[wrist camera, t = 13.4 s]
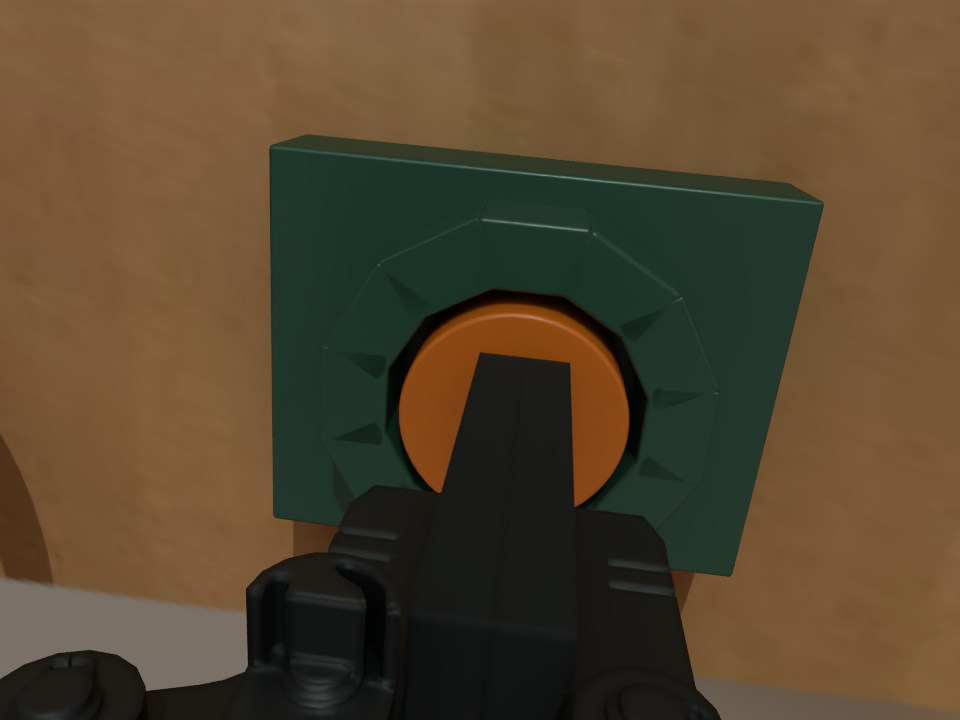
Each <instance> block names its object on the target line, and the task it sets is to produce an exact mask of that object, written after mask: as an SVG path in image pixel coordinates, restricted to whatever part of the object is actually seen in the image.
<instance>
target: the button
mask: <svg viewBox="0 0 960 720" xmlns="http://www.w3.org/2000/svg"><path fill="white" fill-rule="evenodd" d="M480 352H483V353H491V354H500V355H508V356H517V357H525V358H534V359H543V360H551V361H560V362H568V363H570V369H571V403H572V436H573V469H574V502H575V507H576V506H578V505H580V504H582V503H583V502H584V501H586V500H587V499H588V498H590V497H591V496H592V495H594V494H595V493H596V492H597V491H598V490H599V489H600V488H601V487H602V486H603V485H604V484H605V483H606V481H607V480H608V479H609V478H610V476H611V475H612V474H613V472H614V470H615V469H616V467H617V465H618V464H619V462H620V460H621V457H622V455H623V452H624V450H625V446H626V442H627V438H628V432H629V406H628V401H627V396H626V391H625V386H624V381H623V376H622V371H621V366H620V361H619V358H618V355H617V352H616V350H615V347H614V345H613V343H612V341H611V340H610V338H609V336H608V335H607V333H606V332H605V330H604V329H603V327H602V326H601V325H600V324H599V323H598V322H597V321H596V320H595V319H593V318H592V317H591V316H589V315H588V314H586V313H585V312H584V311H582V310H581V309H579V308H578V307H577V306H575V305H574V304H573V303H571V302H570V301H568V300H567V299H566V298H564V297H558V296H549V295H540V294H531V293H522V292H513V291H504V290H495V289H492V290H489V291H487V292H485V293H482V294H480V295H478V296H475V297H473V298H471V299H468V300H466V301H464V302H461V303H459V304H456V305H454V306H452V307H451V308H449V309H448V310H447V311H446V312H445V313H444V314H443V315H442V316H441V317H439V319H438V320H437V321H436V322H435V323H434V325H433V326H432V327H431V328H430V330H429V332H428V333H427V335H426V337H425V338H424V340H423V342H422V344H421V346H420V348H419V351H418V353H417V355H416V357H415V359H414V361H413V363H412V365H411V367H410V369H409V372H408V374H407V376H406V378H405V381H404V384H403V387H402V391H401V394H400V402H399V425H400V432H401V437H402V440H403V443H404V446H405V449H406V451H407V453H408V456H409V458H410V460H411V462H412V463H413V465H414V467H415V468H416V470H417V471H418V473H419V474H420V475H421V477H422V478H423V479H424V480H425V482H426V483H427V484H428V485H429V486H430V487H431V488H432V489H433V490H434V491H435V492H437V493H441V490H442V487H443V483H444V479H445V476H446V472H447V469H448V465H449V461H450V458H451V454H452V451H453V447H454V443H455V440H456V436H457V433H458V429H459V425H460V422H461V418H462V415H463V411H464V407H465V404H466V400H467V397H468V393H469V389H470V386H471V382H472V379H473V375H474V371H475V368H476V364H477V361H478V357H479V353H480Z"/></svg>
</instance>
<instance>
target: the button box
mask: <svg viewBox="0 0 960 720" xmlns="http://www.w3.org/2000/svg"><path fill="white" fill-rule="evenodd" d="M269 159H270V252H271V344H272V437H273V515H274V517H275V518H279V519H287V520H295V521H302V522H310V523H318V524H326V525H333V526H339V525H340V523H341V521H342V519H343V517H344V515H345V513H346V510H347V508H348V506H349V504H350V503H351V502H352V501H354V500H355V499H356V498H358V497H359V496H360V495H362V494H363V493H364V492H366V491H367V490H369V489H370V488H371V487H373V486H374V485H383V486H390V487H398V488H406V489H414V490H422V491H429V492H435V491H434V490H433V489H432V488H431V487H430V486H429V485H428V484H427V483H426V482H425V480H424V479H423V478H422V477H421V475H420V474H419V473H418V471H417V470H416V468H415V467H414V465H413V463H412V462H411V460H410V458H409V456H408V453H407V451H406V449H405V446H404V443H403V440H402V437H401V432H400V425H399V402H400V394H401V391H402V387H403V384H404V381H405V378H406V376H407V374H408V372H409V369H410V367H411V365H412V363H413V361H414V359H415V357H416V355H417V353H418V351H419V348H420V346H421V344H422V342H423V340H424V338H425V337H426V335H427V333H428V332H429V330H430V328H431V327H432V326H433V325H434V323H435V322H436V321H437V320H438V319H439V317H441V316H442V315H443V314H444V313H445V312H446V311H447V310H448V309H449V308H451V307H452V306H454V305H456V304H459V303H461V302H464V301H466V300H468V299H471V298H473V297H475V296H478V295H480V294H482V293H485V292H487V291H489V290H492V289H495V290H504V291H513V292H522V293H531V294H540V295H549V296H558V297H564V298H566V299H567V300H568V301H570V302H571V303H573V304H574V305H575V306H577V307H578V308H579V309H581V310H582V311H584V312H585V313H586V314H588V315H589V316H591V317H592V318H593V319H595V320H596V321H597V322H598V323H599V324H600V325H601V326H602V327H603V329H604V330H605V332H606V333H607V335H608V336H609V338H610V340H611V341H612V343H613V345H614V347H615V350H616V352H617V355H618V358H619V361H620V366H621V371H622V376H623V381H624V386H625V391H626V396H627V401H628V406H629V432H628V438H627V442H626V446H625V450H624V452H623V455H622V457H621V460H620V462H619V464H618V465H617V467H616V469H615V470H614V472H613V474H612V475H611V476H610V478H609V479H608V480H607V481H606V483H605V484H604V485H603V486H602V487H601V488H600V489H599V490H598V491H597V492H596V493H595V494H594V495H592V496H591V497H590V498H588V499H587V500H586V501H584V502H583V503H582V504H580V505H578V506H576V508H584V509H592V510H600V511H608V512H616V513H623V514H631V515H639V516H644V517H645V519H646V520H647V521H648V522H649V523H650V525H651V526H652V527H653V528H654V529H655V531H656V532H657V533H658V534H659V535H660V537H661V538H662V539H663V540H664V542H665V547H666V551H667V556H668V561H669V565H670V569H673V570H681V571H689V572H696V573H704V574H712V575H720V576H727V577H729V576H731V575H732V573H733V569H734V565H735V561H736V557H737V553H738V549H739V545H740V541H741V537H742V533H743V529H744V525H745V521H746V517H747V513H748V509H749V505H750V501H751V497H752V493H753V489H754V485H755V481H756V477H757V473H758V468H759V464H760V460H761V456H762V452H763V448H764V444H765V440H766V436H767V432H768V428H769V424H770V420H771V416H772V412H773V408H774V404H775V400H776V396H777V392H778V388H779V384H780V380H781V376H782V372H783V368H784V364H785V360H786V356H787V352H788V348H789V344H790V340H791V336H792V332H793V328H794V324H795V320H796V316H797V312H798V308H799V303H800V299H801V295H802V291H803V287H804V283H805V279H806V275H807V271H808V267H809V263H810V259H811V255H812V251H813V247H814V243H815V239H816V235H817V231H818V227H819V223H820V219H821V215H822V211H823V207H824V204H823V202H822V201H820V200H818V199H817V198H815V197H813V196H811V195H809V194H807V193H806V192H804V191H802V190H800V189H798V188H796V187H795V186H793V185H791V184H789V183H781V182H772V181H762V180H752V179H742V178H732V177H722V176H712V175H703V174H693V173H683V172H673V171H663V170H653V169H643V168H634V167H624V166H614V165H604V164H594V163H584V162H574V161H565V160H555V159H545V158H535V157H525V156H515V155H506V154H496V153H486V152H476V151H466V150H456V149H446V148H437V147H427V146H417V145H407V144H397V143H387V142H377V141H368V140H358V139H348V138H338V137H328V136H318V135H308V134H307V135H303V136H300V137H297V138H293V139H290V140H287V141H283V142H280V143H277V144H274V145H271V146H270V149H269Z"/></svg>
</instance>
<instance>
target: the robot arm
mask: <svg viewBox="0 0 960 720" xmlns="http://www.w3.org/2000/svg"><path fill="white" fill-rule="evenodd" d="M246 608H247V642H248V643H247V646H248V667H247V669H246V671H245V672H243V673H241V674H238V675H235V676H233V677H230V678H227V679H225V680H221V681H216V682H211V683H207V684H201V685H194V686H185V687H177V688H168V689H160V690H151V691H146V687H145V684H144V682H143V680H142V678H141V676H140V673H139V672H138V669H137V667H135V666H134V665H132V664H131V663H129V662H128V661H126V660H124V659H123V658H121V657H120V656H118V655H115V654H110V653H104V652H98V651H92V650H85V651H76V652H65V653H57V654H54V655H52V656H48V657H45V658H42V659H39V660H36V661H33V662H31V663H28V664H25V665H23V666H21V667H20V668H18V669H16V670H14V671H13V672H11V673H9V674H8V675H6V676H5V677H3V678H1V679H0V720H721V718H720V716H719V714H718V712H717V710H716V708H714V706H713V705H712V704H711V703H710V702H709V701H708V700H707V699H705V698H704V696H702V694H701V693H700V692H699V691H698V690H697V689H696V687H695V682H694V677H693V673H692V668H691V663H690V659H689V654H688V649H687V645H686V640H685V635H684V631H683V626H682V621H681V617H680V612H679V607H678V603H677V598H676V597H675V589H674V584H673V579H672V575H671V574H670V565H669V561H668V556H667V551H666V547H665V542H664V540H663V539H662V538H661V537H660V535H659V534H658V533H657V532H656V531H655V529H654V528H653V527H652V526H651V525H650V523H649V522H648V521H647V520H646V519H645V517H644V516H639V515H631V514H623V513H616V512H608V511H600V510H592V509H584V508H576V507H575V502H574V469H573V436H572V403H571V369H570V363H568V362H560V361H551V360H543V359H534V358H525V357H517V356H508V355H500V354H491V353H483V352H480V353H479V357H478V361H477V364H476V368H475V371H474V375H473V379H472V382H471V386H470V389H469V393H468V397H467V400H466V404H465V407H464V411H463V415H462V418H461V422H460V425H459V429H458V433H457V436H456V440H455V443H454V447H453V451H452V454H451V458H450V461H449V465H448V469H447V472H446V476H445V479H444V483H443V487H442V490H441V493H437V492H429V491H422V490H414V489H406V488H398V487H390V486H383V485H374V486H373V487H371V488H370V489H369V490H367V491H366V492H364V493H363V494H362V495H360V496H359V497H358V498H356V499H355V500H354V501H352V502H351V503H350V504H349V506H348V508H347V510H346V513H345V515H344V517H343V519H342V521H341V523H340V525H339V527H338V533H336V534H335V536H334V538H333V540H332V542H331V544H330V546H329V549H328V553H310V554H306V555H301V556H297V557H292V558H288V559H285V560H283V561H281V562H279V563H277V564H275V565H274V566H272V567H270V568H268V569H266V570H264V571H262V572H261V573H260V574H259V575H258V576H257V578H256V579H255V580H254V581H253V582H252V583H251V584H250V585H249V586H248V587H247V588H246Z"/></svg>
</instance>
